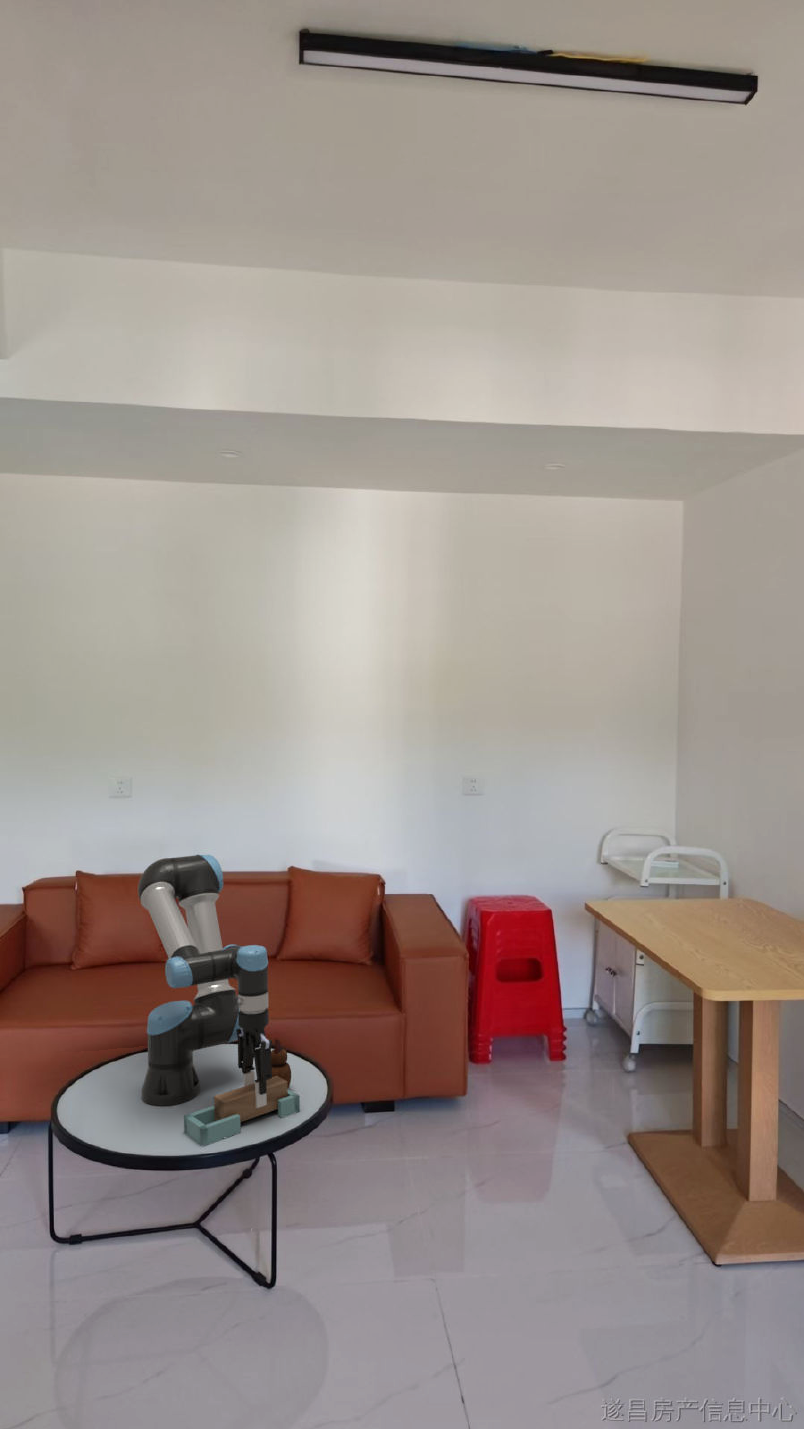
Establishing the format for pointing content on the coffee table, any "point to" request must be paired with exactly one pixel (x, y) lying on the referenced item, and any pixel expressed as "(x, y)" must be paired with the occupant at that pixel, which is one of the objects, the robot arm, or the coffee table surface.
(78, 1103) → the coffee table surface
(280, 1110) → the endcaps
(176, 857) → the robot arm
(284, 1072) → the wooden figurine
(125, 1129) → the coffee table surface
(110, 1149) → the coffee table surface
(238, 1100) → the slat
